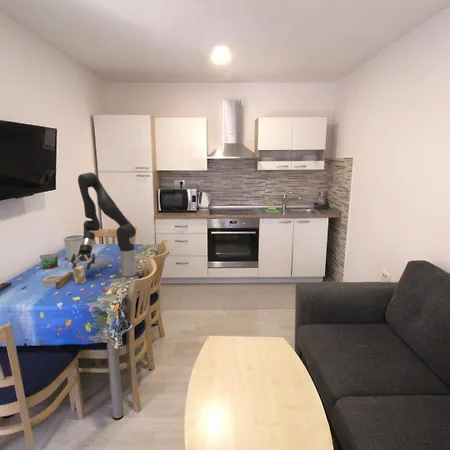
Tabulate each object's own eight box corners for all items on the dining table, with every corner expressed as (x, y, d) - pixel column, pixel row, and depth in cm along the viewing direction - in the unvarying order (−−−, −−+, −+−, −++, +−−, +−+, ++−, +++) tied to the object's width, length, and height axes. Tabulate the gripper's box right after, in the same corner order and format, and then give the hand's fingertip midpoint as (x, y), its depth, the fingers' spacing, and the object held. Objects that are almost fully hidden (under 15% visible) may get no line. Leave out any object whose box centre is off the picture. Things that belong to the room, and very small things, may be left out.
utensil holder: (81, 260, 243) (79, 238, 239) (62, 261, 243) (59, 238, 240) (90, 255, 257) (87, 234, 254) (71, 255, 258) (69, 234, 254)
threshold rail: (73, 277, 207) (72, 271, 206) (59, 288, 190) (58, 282, 189) (70, 277, 207) (69, 271, 206) (56, 288, 190) (55, 282, 189)
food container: (38, 270, 223) (36, 256, 221) (41, 267, 229) (39, 254, 227) (58, 268, 226) (56, 254, 224) (60, 265, 232) (58, 252, 230)
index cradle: (63, 280, 203) (62, 275, 202) (56, 285, 194) (55, 280, 194) (50, 280, 203) (49, 275, 202) (43, 286, 194) (42, 280, 193)
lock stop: (85, 281, 201) (83, 266, 199) (82, 283, 196) (80, 268, 194) (78, 281, 201) (76, 266, 199) (75, 284, 196) (73, 268, 194)
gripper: (73, 244, 205) (66, 266, 196) (95, 243, 205) (89, 266, 196) (77, 249, 211) (71, 272, 203) (99, 249, 212) (94, 271, 203)
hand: (80, 269), depth 199 cm, fingers open, 8 cm apart
